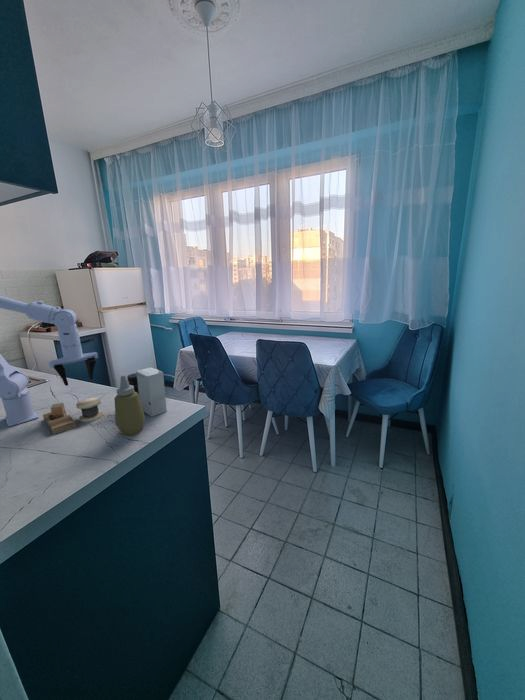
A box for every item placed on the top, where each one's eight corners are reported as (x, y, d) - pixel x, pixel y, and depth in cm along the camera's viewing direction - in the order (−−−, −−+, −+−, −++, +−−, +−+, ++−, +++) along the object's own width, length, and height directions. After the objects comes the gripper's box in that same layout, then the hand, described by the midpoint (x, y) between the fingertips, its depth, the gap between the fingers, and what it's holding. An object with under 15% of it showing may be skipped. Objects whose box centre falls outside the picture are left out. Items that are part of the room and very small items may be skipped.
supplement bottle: (141, 411, 102) (136, 379, 98) (124, 409, 103) (119, 378, 100) (152, 402, 108) (148, 372, 105) (136, 401, 109) (131, 371, 106)
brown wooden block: (54, 423, 95) (50, 408, 94) (56, 419, 98) (52, 404, 97) (65, 421, 96) (61, 406, 95) (66, 417, 99) (63, 402, 98)
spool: (76, 417, 99) (73, 402, 97) (99, 410, 103) (96, 396, 102) (83, 424, 94) (79, 408, 92) (106, 416, 99) (103, 401, 97)
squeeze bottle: (113, 432, 88) (103, 377, 84) (139, 422, 94) (131, 369, 89) (124, 441, 83) (114, 383, 78) (151, 430, 89) (142, 375, 84)
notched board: (44, 419, 98) (42, 414, 97) (64, 413, 102) (63, 408, 101) (53, 434, 88) (52, 428, 88) (76, 426, 92) (74, 421, 92)
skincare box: (140, 410, 102) (134, 370, 98) (156, 404, 106) (150, 366, 103) (152, 417, 97) (146, 375, 93) (168, 410, 101) (163, 370, 97)
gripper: (90, 339, 107) (97, 373, 110) (42, 347, 97) (52, 385, 100) (96, 341, 102) (103, 377, 106) (47, 350, 92) (56, 390, 96)
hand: (78, 381), depth 103 cm, fingers open, 7 cm apart
